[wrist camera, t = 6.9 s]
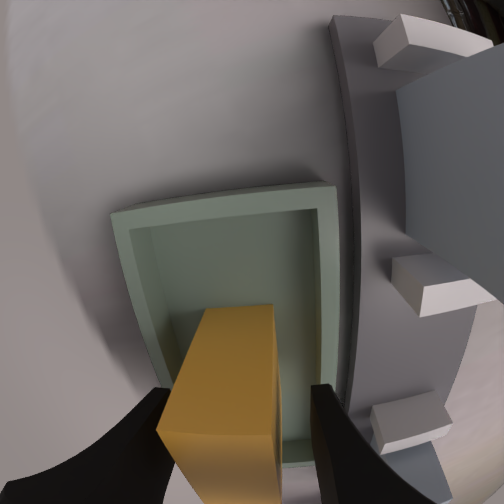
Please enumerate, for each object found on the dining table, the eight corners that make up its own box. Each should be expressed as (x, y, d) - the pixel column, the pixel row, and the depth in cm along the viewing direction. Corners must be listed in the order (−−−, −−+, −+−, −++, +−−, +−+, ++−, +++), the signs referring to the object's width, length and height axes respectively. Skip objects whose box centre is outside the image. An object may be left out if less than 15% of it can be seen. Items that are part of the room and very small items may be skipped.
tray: (322, 437, 14) (326, 464, 12) (205, 441, 15) (199, 466, 13) (324, 180, 10) (336, 185, 8) (135, 204, 10) (110, 213, 8)
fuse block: (406, 460, 15) (417, 494, 12) (331, 476, 16) (335, 514, 12) (457, 45, 7) (503, 23, 4) (328, 26, 8) (349, -22, 4)
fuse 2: (398, 458, 13) (418, 528, 8) (362, 466, 14) (375, 540, 8) (418, 413, 12) (453, 498, 6) (376, 424, 12) (401, 517, 6)
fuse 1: (460, 229, 9) (575, 294, 3) (405, 234, 9) (521, 318, 3) (454, 98, 7) (577, 76, 2) (395, 90, 8) (518, 37, 2)
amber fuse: (281, 395, 12) (281, 508, 7) (226, 397, 13) (205, 505, 7) (273, 303, 11) (271, 434, 5) (205, 308, 11) (155, 429, 5)
